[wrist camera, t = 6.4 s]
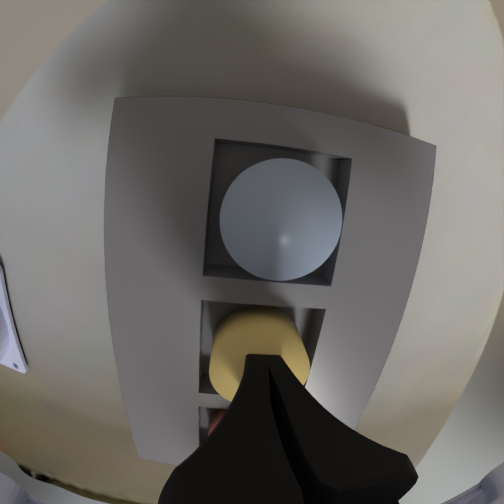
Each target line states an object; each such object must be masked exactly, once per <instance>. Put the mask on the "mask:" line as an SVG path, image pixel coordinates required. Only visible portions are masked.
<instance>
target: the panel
mask: <svg viewBox="0 0 504 504" xmlns="http://www.w3.org/2000/svg"><path fill="white" fill-rule="evenodd" d="M435 157H436V146H435V145H433V144H430V143H427V142H425V141H422V140H419V139H416V138H413V137H411V136H408V135H405V134H402V133H398V132H395V131H392V130H389V129H386V128H382V127H379V126H375V125H372V124H368V123H364V122H361V121H357V120H353V119H349V118H345V117H340V116H336V115H332V114H327V113H322V112H317V111H312V110H307V109H302V108H296V107H290V106H284V105H277V104H270V103H263V102H255V101H246V100H236V99H224V98H210V97H187V96H143V97H121V98H115V101H114V107H113V113H112V120H111V128H110V136H109V144H108V154H107V166H106V180H105V203H104V251H105V273H106V288H107V300H108V310H109V319H110V327H111V335H112V342H113V348H114V354H115V360H116V366H117V371H118V377H119V382H120V386H121V391H122V396H123V400H124V404H125V409H126V413H127V417H128V420H129V424H130V428H131V431H132V435H133V438H134V442H135V445H136V448H137V452H138V455H139V458H141V459H145V460H150V461H156V462H161V463H167V464H174V465H180V464H181V463H182V462H183V461H184V460H185V459H186V458H188V457H189V456H190V455H191V454H192V453H193V452H194V451H195V450H196V449H197V448H198V447H199V446H200V445H201V444H202V442H203V441H204V440H205V439H206V438H207V437H208V428H209V419H210V417H211V415H212V414H213V413H214V412H215V411H216V410H218V409H219V408H222V409H228V407H229V405H230V404H231V402H230V401H228V400H226V399H225V398H223V397H222V396H221V395H220V394H219V393H218V392H217V391H216V390H215V389H214V387H213V385H212V383H211V381H210V377H209V367H210V358H211V349H212V341H213V335H214V332H215V329H216V327H217V326H218V324H219V323H220V322H221V321H222V320H223V318H225V317H226V316H227V315H228V314H230V313H232V312H233V311H236V310H238V309H240V308H243V307H248V306H268V307H272V308H275V309H278V310H280V311H282V312H284V313H285V314H286V315H288V316H289V317H290V318H291V319H292V320H293V322H294V323H295V325H296V327H297V329H298V332H299V334H300V337H301V339H302V342H303V345H304V347H305V350H306V353H307V355H308V358H309V363H310V371H309V375H308V378H307V380H306V382H305V384H304V385H303V386H304V387H305V388H306V389H307V390H308V392H309V393H310V394H311V395H312V396H313V397H314V398H315V399H316V400H317V401H318V402H319V403H320V404H321V405H322V406H323V407H324V408H325V409H326V410H328V411H329V412H330V413H331V414H332V415H334V416H335V417H336V418H337V419H339V420H340V421H341V422H343V423H344V424H345V425H347V426H348V427H350V428H351V429H353V430H354V429H355V427H356V425H357V423H358V421H359V419H360V417H361V415H362V413H363V411H364V409H365V407H366V405H367V403H368V401H369V399H370V397H371V395H372V393H373V390H374V388H375V386H376V384H377V382H378V379H379V377H380V375H381V372H382V370H383V368H384V365H385V363H386V360H387V358H388V355H389V353H390V350H391V347H392V345H393V342H394V339H395V337H396V334H397V331H398V328H399V325H400V322H401V319H402V316H403V313H404V310H405V307H406V304H407V301H408V297H409V294H410V291H411V287H412V283H413V280H414V276H415V272H416V268H417V264H418V260H419V256H420V252H421V247H422V243H423V238H424V233H425V228H426V223H427V217H428V212H429V206H430V199H431V192H432V185H433V177H434V168H435ZM278 158H286V159H294V160H298V161H302V162H304V163H307V164H309V165H311V166H313V167H314V168H316V169H317V170H319V171H320V172H321V173H322V174H323V175H324V176H325V177H326V178H327V179H328V180H329V181H330V182H331V184H332V185H333V187H334V189H335V190H336V192H337V195H338V197H339V200H340V204H341V208H342V229H341V233H340V237H339V240H338V242H337V245H336V246H335V248H334V250H333V252H332V253H331V255H330V256H329V257H328V258H327V260H326V261H325V262H324V263H323V264H322V265H321V266H319V267H318V268H317V269H315V270H314V271H312V272H311V273H309V274H307V275H305V276H302V277H299V278H296V279H292V280H285V281H274V280H267V279H264V278H260V277H257V276H255V275H253V274H251V273H249V272H248V271H246V270H245V269H243V268H242V267H241V266H239V265H238V264H237V263H236V262H235V260H234V259H233V258H232V257H231V255H230V254H229V252H228V251H227V249H226V247H225V244H224V242H223V239H222V236H221V231H220V211H221V206H222V202H223V199H224V197H225V195H226V192H227V190H228V188H229V186H230V185H231V183H232V182H233V181H234V179H235V178H236V177H237V176H238V175H239V174H240V173H241V172H243V171H244V170H245V169H247V168H249V167H251V166H253V165H255V164H257V163H260V162H263V161H266V160H270V159H278Z"/></svg>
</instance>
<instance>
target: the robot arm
mask: <svg viewBox="0 0 504 504" xmlns="http://www.w3.org/2000/svg"><path fill="white" fill-rule="evenodd" d="M0 363H1V364H3V365H5V366H8V367H10V368H12V369H14V370H17V371H19V372H21V373H26V372H27V370H28V367H27V364H26V361H25V358H24V356H23V353H22V349H21V346H20V343H19V340H18V336H17V333H16V329H15V326H14V322H13V318H12V314H11V310H10V305H9V301H8V296H7V291H6V286H5V280H4V274H3V269H2V267H1V265H0ZM417 479H418V475H417V473H416V471H415V468H414V466H413V464H412V463H411V461H410V459H409V458H408V456H407V455H406V454H403V453H401V452H398V451H395V450H393V449H390V448H387V447H385V446H382V445H380V444H378V443H376V442H374V441H372V440H370V439H368V438H366V437H365V436H363V435H361V434H359V433H358V432H356V431H355V430H353V429H351V428H350V427H348V426H347V425H345V424H344V423H343V422H341V421H340V420H339V419H337V418H336V417H335V416H334V415H332V414H331V413H330V412H329V411H328V410H326V409H325V408H324V407H323V406H322V405H321V404H320V403H319V402H318V401H317V400H316V399H315V398H314V397H313V396H312V395H311V394H310V393H309V392H308V390H307V389H306V388H305V387H304V386H303V385H302V383H301V382H300V381H299V380H298V378H297V377H296V376H295V375H294V373H293V372H292V371H291V369H290V368H289V367H288V365H287V364H286V362H285V361H284V359H283V358H282V357H281V356H280V355H267V354H248V355H246V357H245V365H244V372H243V376H242V379H241V382H240V385H239V387H238V389H237V392H236V394H235V396H234V398H233V400H232V402H231V404H230V405H229V407H228V409H227V411H226V412H225V414H224V415H223V417H222V418H221V420H220V421H219V423H218V424H217V425H216V427H215V428H214V430H213V431H212V432H211V433H210V435H209V436H208V437H207V438H206V439H205V440H204V441H203V442H202V444H201V445H200V446H199V447H198V448H197V449H196V450H195V451H194V452H193V453H192V454H191V455H190V456H189V457H188V458H186V459H185V460H184V461H183V462H182V463H181V464H180V465H178V466H177V467H176V468H175V469H174V470H173V472H172V474H171V475H170V477H169V478H168V480H167V482H166V484H165V485H164V487H163V490H162V492H161V494H160V497H159V501H158V504H399V502H398V500H399V499H401V498H402V497H403V496H404V495H405V494H406V493H407V492H408V491H409V490H410V489H411V488H412V487H413V486H414V485H415V483H416V481H417ZM0 504H46V503H44V502H42V501H40V500H38V499H36V498H34V497H32V496H30V495H29V494H28V493H27V491H26V490H25V489H24V488H23V487H22V486H20V485H19V484H18V483H16V482H15V481H14V480H12V479H10V478H9V477H7V476H6V475H4V474H3V473H1V472H0ZM442 504H504V463H502V464H501V465H499V466H498V467H496V468H495V469H493V470H492V471H491V472H490V473H488V474H487V475H486V476H485V477H484V478H483V479H482V480H481V481H480V483H478V484H477V485H475V486H473V487H472V488H470V489H468V490H466V491H465V492H463V493H461V494H459V495H457V496H456V497H454V498H452V499H450V500H448V501H446V502H444V503H442Z"/></svg>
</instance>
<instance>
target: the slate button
mask: <svg viewBox="0 0 504 504" xmlns="http://www.w3.org/2000/svg"><path fill="white" fill-rule="evenodd" d="M341 229H342V208H341V204H340V200H339V197H338V195H337V192H336V190H335V189H334V187H333V185H332V184H331V182H330V181H329V180H328V179H327V178H326V177H325V176H324V175H323V174H322V173H321V172H320V171H319V170H317V169H316V168H314V167H313V166H311V165H309V164H307V163H304V162H302V161H298V160H294V159H286V158H278V159H270V160H266V161H263V162H260V163H257V164H255V165H253V166H251V167H249V168H247V169H245V170H244V171H243V172H241V173H240V174H239V175H238V176H237V177H236V178H235V179H234V181H233V182H232V183H231V185H230V186H229V188H228V190H227V192H226V195H225V197H224V199H223V202H222V206H221V211H220V231H221V236H222V239H223V242H224V244H225V247H226V249H227V251H228V252H229V254H230V255H231V257H232V258H233V259H234V260H235V262H236V263H237V264H238V265H239V266H241V267H242V268H243V269H245V270H246V271H248V272H249V273H251V274H253V275H255V276H257V277H260V278H264V279H267V280H274V281H285V280H292V279H296V278H299V277H302V276H305V275H307V274H309V273H311V272H312V271H314V270H315V269H317V268H318V267H319V266H321V265H322V264H323V263H324V262H325V261H326V260H327V258H328V257H329V256H330V255H331V253H332V252H333V250H334V248H335V246H336V245H337V242H338V240H339V237H340V233H341Z"/></svg>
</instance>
